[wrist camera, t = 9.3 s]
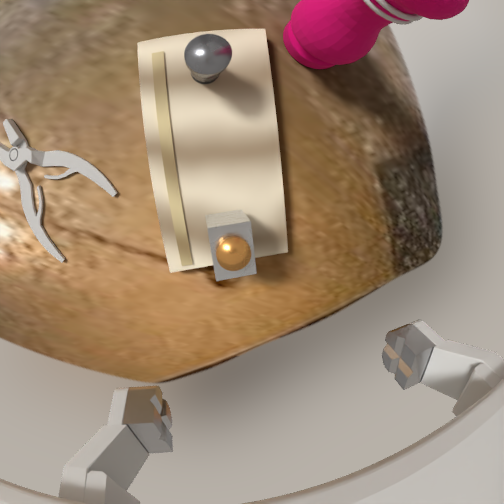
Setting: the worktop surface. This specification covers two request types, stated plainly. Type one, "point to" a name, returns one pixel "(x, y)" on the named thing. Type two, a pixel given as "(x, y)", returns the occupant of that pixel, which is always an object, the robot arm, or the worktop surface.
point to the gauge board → (212, 145)
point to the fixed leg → (207, 56)
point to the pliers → (18, 161)
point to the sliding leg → (231, 244)
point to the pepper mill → (352, 26)
